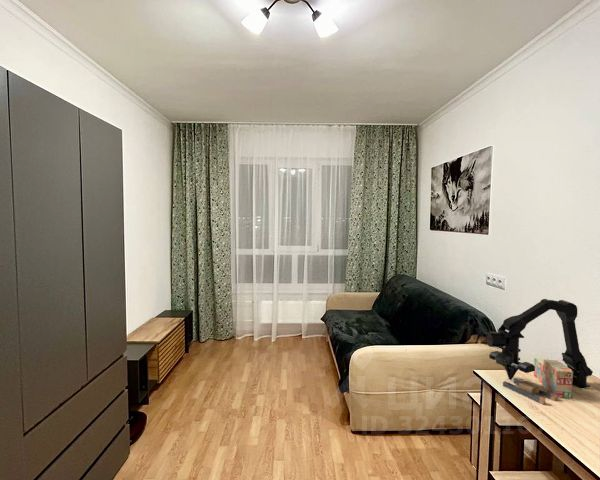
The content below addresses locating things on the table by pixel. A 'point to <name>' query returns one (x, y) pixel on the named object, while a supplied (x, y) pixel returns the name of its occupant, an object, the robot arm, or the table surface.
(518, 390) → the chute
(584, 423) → the table surface
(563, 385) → the stack of blocks
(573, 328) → the robot arm
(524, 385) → the walnut block
